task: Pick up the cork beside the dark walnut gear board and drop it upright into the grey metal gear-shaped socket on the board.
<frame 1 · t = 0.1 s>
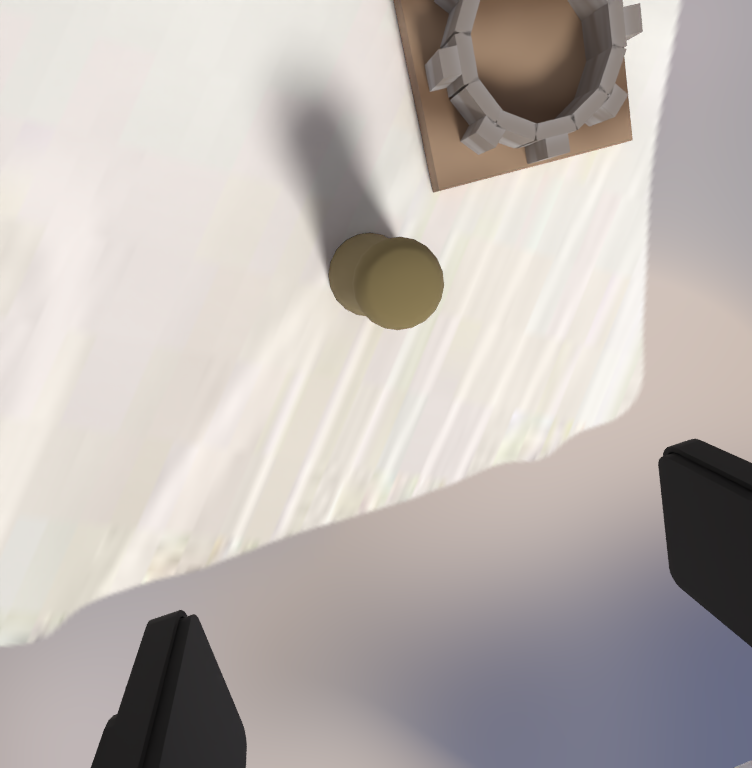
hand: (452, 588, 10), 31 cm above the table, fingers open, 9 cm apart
cork: (369, 275, 40), on the table
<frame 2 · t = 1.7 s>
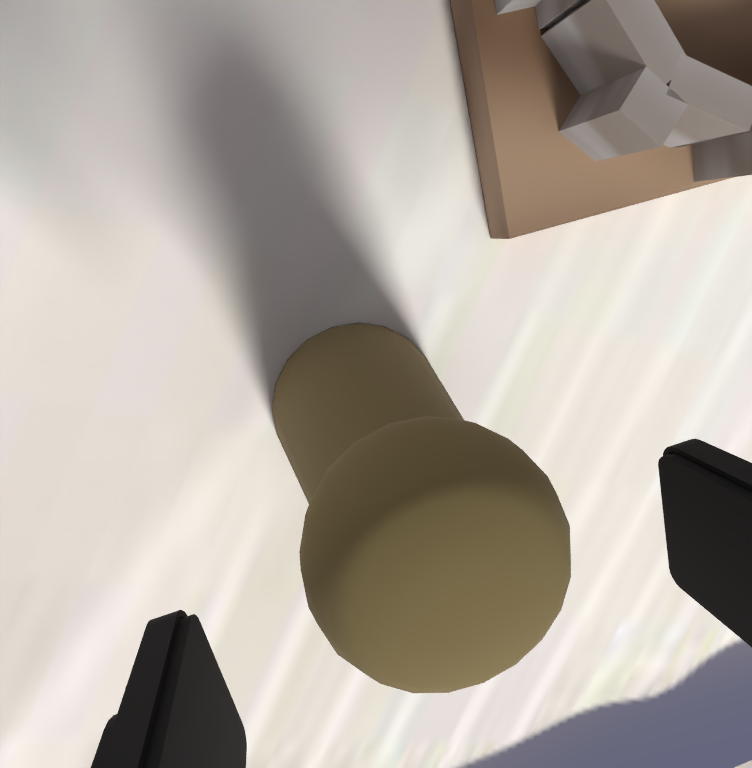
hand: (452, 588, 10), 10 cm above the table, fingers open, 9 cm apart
cork: (356, 404, 19), on the table
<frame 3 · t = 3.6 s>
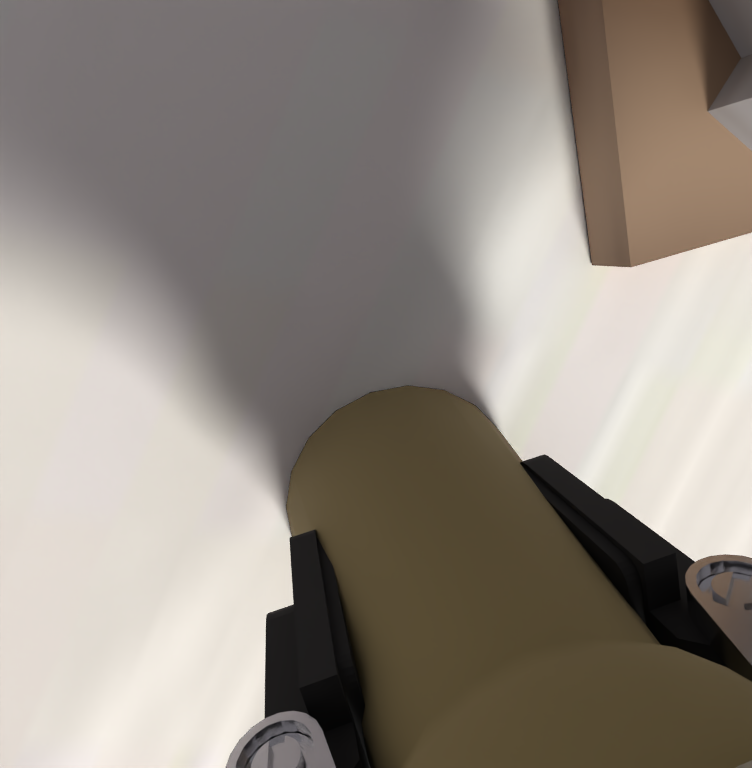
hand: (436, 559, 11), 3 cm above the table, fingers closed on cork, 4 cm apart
cork: (402, 495, 14), on the table, touching gripper
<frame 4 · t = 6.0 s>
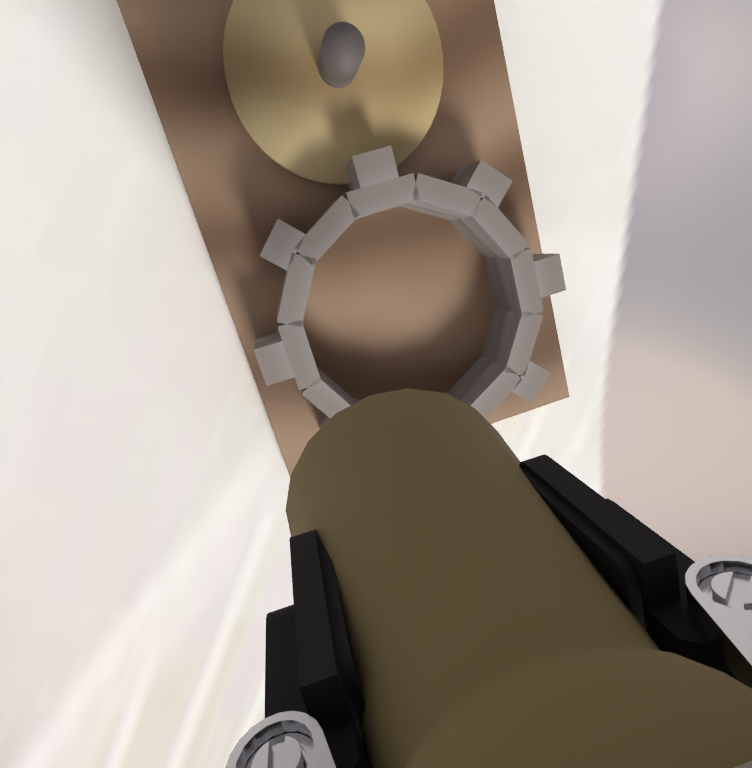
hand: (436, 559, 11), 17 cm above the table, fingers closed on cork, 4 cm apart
gear board: (368, 218, 26), on the table
cork: (402, 497, 14), point 14 cm above the table, touching gripper
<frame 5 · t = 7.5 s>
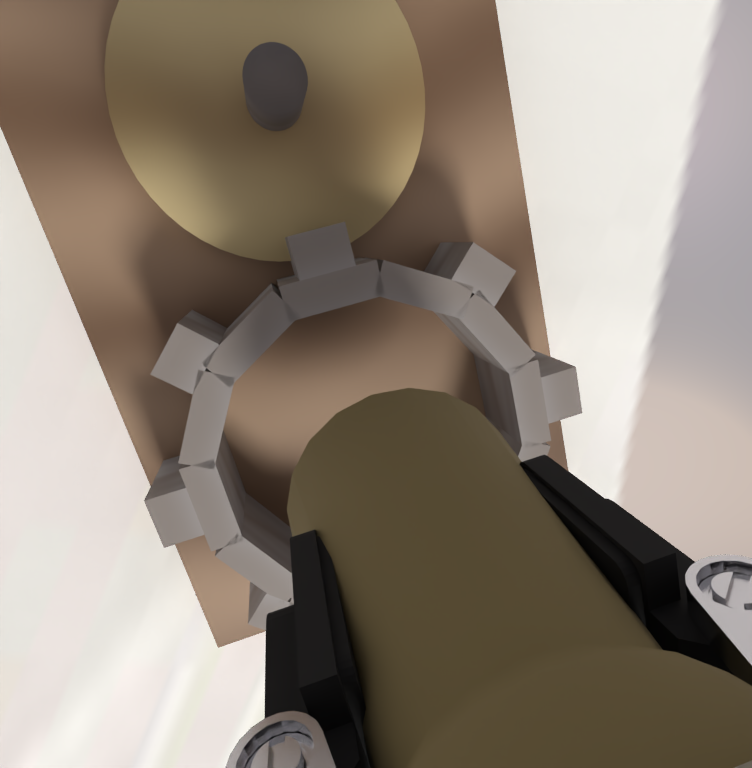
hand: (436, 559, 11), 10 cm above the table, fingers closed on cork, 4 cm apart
gear board: (322, 296, 19), on the table
cork: (403, 497, 14), point 7 cm above the table, touching gripper
when the fingers open (6 cm above the table, at t = 8.8 s): cork drops 2 cm, resting on gear board.
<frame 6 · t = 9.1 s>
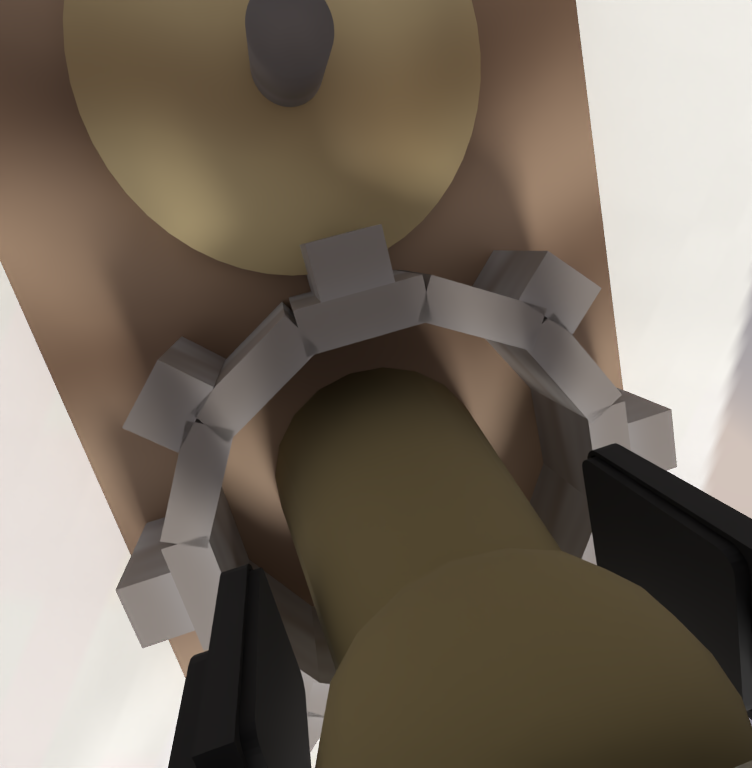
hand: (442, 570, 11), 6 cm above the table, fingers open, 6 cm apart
gear board: (344, 317, 16), on the table
cork: (380, 467, 16), point 1 cm above the table, touching gear board
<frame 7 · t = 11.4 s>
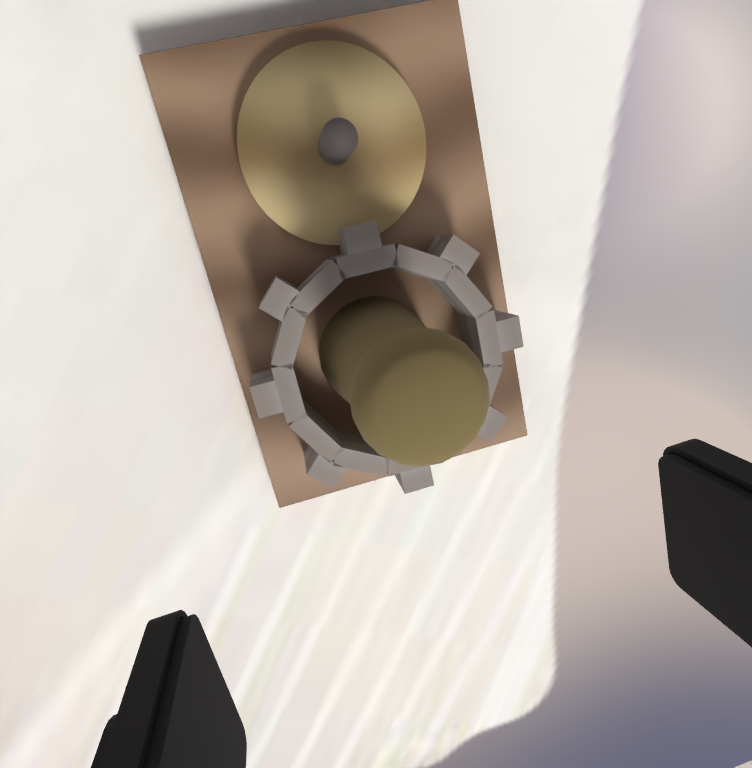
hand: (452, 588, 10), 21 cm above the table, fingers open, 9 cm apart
gear board: (356, 271, 29), on the table
cork: (374, 352, 29), point 1 cm above the table, touching gear board
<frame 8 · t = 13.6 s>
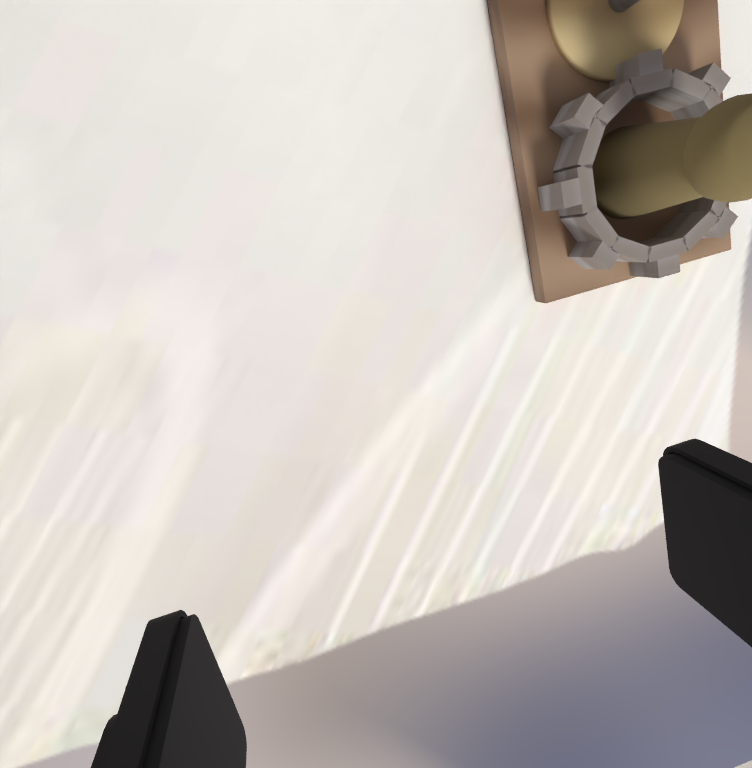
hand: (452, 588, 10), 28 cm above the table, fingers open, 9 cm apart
gear board: (609, 110, 37), on the table
cork: (624, 173, 37), point 1 cm above the table, touching gear board
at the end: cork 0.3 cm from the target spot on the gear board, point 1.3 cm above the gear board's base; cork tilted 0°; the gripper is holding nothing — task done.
